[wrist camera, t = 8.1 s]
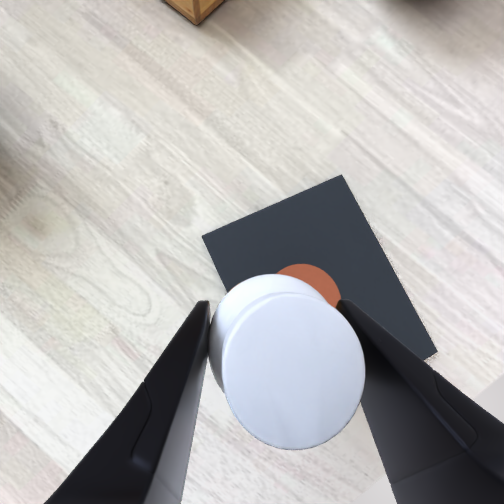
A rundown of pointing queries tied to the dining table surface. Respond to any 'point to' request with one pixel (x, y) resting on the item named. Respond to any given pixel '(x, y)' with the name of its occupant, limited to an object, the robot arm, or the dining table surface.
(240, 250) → the placemat
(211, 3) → the tray
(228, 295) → the supplement bottle
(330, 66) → the dining table surface
